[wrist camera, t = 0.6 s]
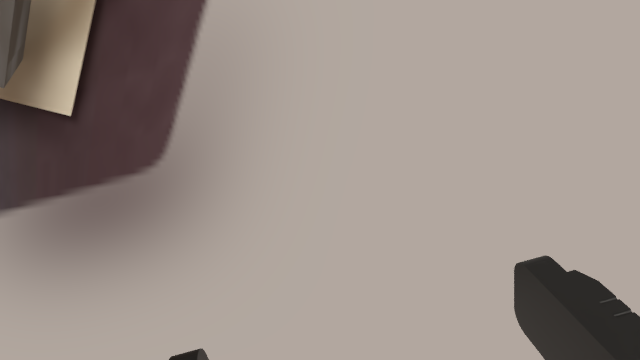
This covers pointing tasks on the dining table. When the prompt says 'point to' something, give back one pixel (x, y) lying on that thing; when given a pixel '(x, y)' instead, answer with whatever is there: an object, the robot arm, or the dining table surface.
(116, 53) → the dining table surface
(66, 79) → the socket block
